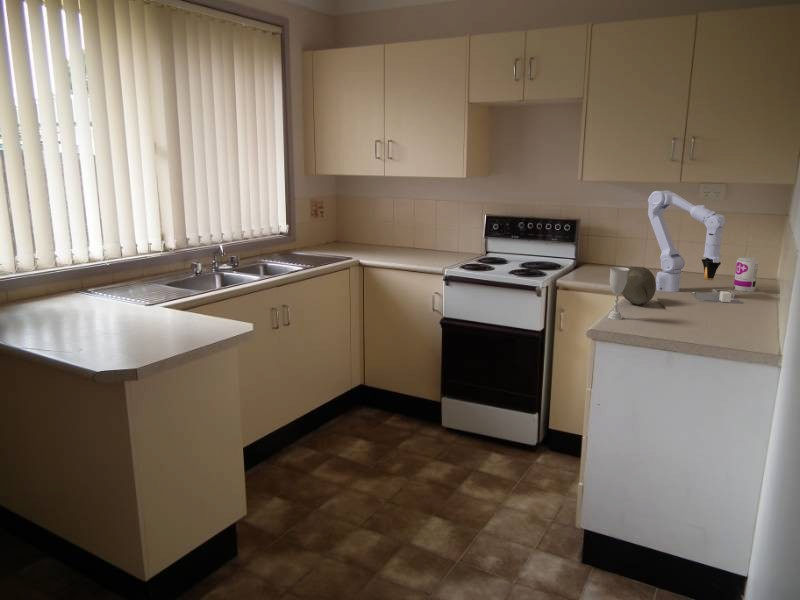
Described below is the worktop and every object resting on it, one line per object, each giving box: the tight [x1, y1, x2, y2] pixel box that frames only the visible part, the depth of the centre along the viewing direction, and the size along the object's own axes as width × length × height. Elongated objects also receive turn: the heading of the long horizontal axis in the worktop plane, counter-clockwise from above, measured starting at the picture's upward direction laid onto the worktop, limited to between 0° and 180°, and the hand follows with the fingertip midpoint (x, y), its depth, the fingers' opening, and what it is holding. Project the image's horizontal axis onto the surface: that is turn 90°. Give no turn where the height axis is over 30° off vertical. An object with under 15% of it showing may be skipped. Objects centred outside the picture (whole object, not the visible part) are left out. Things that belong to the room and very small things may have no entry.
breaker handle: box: [719, 291, 731, 302], centre depth 252 cm, size 3×4×4 cm
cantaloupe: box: [620, 266, 657, 306], centre depth 249 cm, size 14×14×15 cm
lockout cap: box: [703, 267, 715, 281], centre depth 260 cm, size 4×4×5 cm
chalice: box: [607, 266, 629, 321], centre depth 226 cm, size 7×7×18 cm
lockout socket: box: [711, 288, 735, 298], centre depth 262 cm, size 7×7×2 cm
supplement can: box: [732, 256, 759, 293], centre depth 274 cm, size 8×8×15 cm
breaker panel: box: [689, 291, 744, 305], centre depth 258 cm, size 16×18×2 cm
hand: (709, 277), depth 260 cm, fingers closed on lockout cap, 4 cm apart
